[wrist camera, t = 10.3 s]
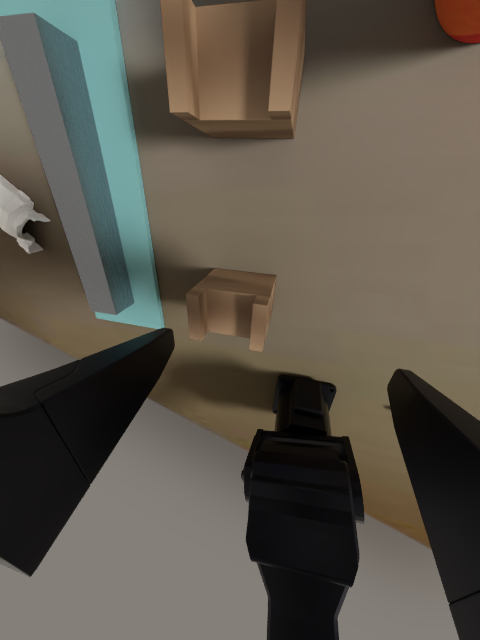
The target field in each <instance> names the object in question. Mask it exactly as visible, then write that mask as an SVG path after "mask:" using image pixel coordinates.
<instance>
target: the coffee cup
mask: <svg viewBox="0 0 480 640" xmlns="http://www.w3.org/2000/svg"><path fill="white" fill-rule="evenodd" d="M434 3H435V10H436V15H437V18H438V21H439V23H440V25H441V27H442V28H443V30H444V31H445V32H446V33H447V34H448V35H449V36H450V37H452V38H453V39H455V40H457V41H460V42H464V43H480V0H434Z"/></svg>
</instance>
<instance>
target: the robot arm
mask: <svg viewBox="0 0 480 640" xmlns="http://www.w3.org/2000/svg"><path fill="white" fill-rule="evenodd" d="M174 347H175V343H174V335H173V330H172V329H169V328H161V329H158V330H155V331H153V332H150V333H147V334H145V335H142V336H140V337H137V338H134V339H132V340H129V341H127V342H124V343H121V344H119V345H116V346H113V347H111V348H108V349H106V350H103V351H100V352H98V353H95V354H92V355H90V356H87V357H85V358H82V359H81V360H77V361H74V362H72V363H69V364H66V365H63V366H61V367H58V368H55V369H52V370H50V371H47V372H44V373H41V374H38V375H35V376H32V377H29V378H26V379H23V380H19V381H17V382H13V383H10V384H7V385H4V386H1V387H0V564H2V565H4V566H6V567H8V568H11V569H13V570H15V571H18V572H20V573H22V574H24V575H27V576H29V577H31V576H32V574H33V573H34V572H35V570H36V569H37V567H38V566H39V565H40V563H41V561H42V560H43V558H44V557H45V555H46V553H47V552H48V550H49V549H50V547H51V546H52V544H53V543H54V541H55V539H56V538H57V536H58V535H59V533H60V532H61V530H62V529H63V527H64V526H65V524H66V523H67V521H68V519H69V518H70V516H71V515H72V513H73V512H74V510H75V508H76V507H77V505H78V504H79V502H80V501H81V499H82V498H83V496H84V495H85V493H86V492H87V490H88V488H89V487H90V484H91V483H92V482H93V480H94V479H95V477H96V475H97V474H98V473H99V471H100V470H101V468H102V466H103V465H104V463H105V462H106V460H107V459H108V457H109V456H110V454H111V452H112V451H113V449H114V448H115V446H116V445H117V443H118V441H119V440H120V438H121V437H122V435H123V434H124V432H125V431H126V429H127V428H128V426H129V424H130V423H131V421H132V420H133V418H134V417H135V415H136V414H137V412H138V411H139V409H140V407H141V406H142V404H143V402H144V401H145V400H146V398H147V397H148V395H149V393H150V392H151V390H152V389H153V387H154V386H155V384H156V383H157V381H158V379H159V378H160V376H161V374H162V372H163V370H164V368H165V366H166V364H167V362H168V360H169V358H170V356H171V354H172V352H173V350H174ZM282 379H284V380H282ZM387 391H388V396H389V402H390V407H391V413H392V418H393V423H394V428H395V432H396V435H397V439H398V442H399V445H400V448H401V451H402V455H403V458H404V461H405V464H406V468H407V471H408V474H409V477H410V481H411V484H412V487H413V490H414V493H415V497H416V500H417V503H418V506H419V510H420V513H421V516H422V519H423V523H424V526H425V529H426V532H427V535H428V539H429V542H430V545H431V548H432V551H433V555H434V558H435V561H436V565H437V568H438V571H439V574H440V577H441V581H442V584H443V587H444V590H445V594H446V597H447V600H448V602H449V603H450V604H449V607H450V611H451V614H452V617H453V620H454V624H455V627H456V630H457V633H458V636H459V640H480V421H479V420H478V419H476V418H475V417H473V416H472V415H471V414H469V413H468V412H467V411H465V410H464V409H462V408H461V407H460V406H458V405H457V404H456V403H454V402H453V401H451V400H450V399H449V398H447V397H446V396H445V395H443V394H442V393H441V392H439V391H438V390H436V389H435V388H434V387H432V386H431V385H430V384H428V383H427V382H425V381H424V380H423V379H421V378H420V377H419V376H417V375H416V374H414V373H413V372H412V371H410V370H404V369H397V370H395V372H394V374H393V376H392V378H391V380H390V381H389V383H388V387H387ZM335 394H336V386H334V385H332V384H327V383H321V382H316V381H311V380H306V379H301V378H296V377H291V376H286V375H280V376H279V377H278V382H277V388H276V393H275V399H274V405H273V413H275V414H276V423H275V431H265V430H263V429H258V430H257V432H256V435H255V436H254V439H253V442H252V445H251V447H250V450H249V453H248V456H247V459H246V462H245V465H244V469H243V470H242V473H241V479H242V480H243V482H244V493H245V499H246V501H247V502H249V513H248V525H247V533H246V543H247V547H248V552H249V556H250V559H251V561H253V562H257V564H258V567H259V570H260V573H261V576H262V579H263V582H264V586H265V589H266V591H267V595H268V622H267V623H268V624H267V640H339V633H338V621H337V618H338V615H339V612H340V609H341V606H342V604H343V601H344V599H345V596H346V593H347V591H348V589H349V587H352V585H353V583H354V580H355V576H356V573H357V570H358V562H359V547H358V539H357V530H356V522H357V523H364V505H363V497H362V490H361V484H360V479H359V474H358V470H357V466H356V462H355V459H354V455H353V451H352V447H351V444H350V440H349V437H348V436H342V437H335V436H331V428H330V419H329V410H330V407H331V405H332V402H333V399H334V397H335Z"/></svg>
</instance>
